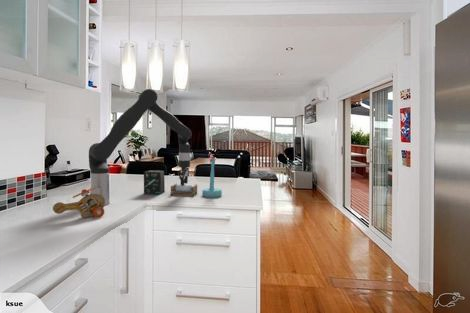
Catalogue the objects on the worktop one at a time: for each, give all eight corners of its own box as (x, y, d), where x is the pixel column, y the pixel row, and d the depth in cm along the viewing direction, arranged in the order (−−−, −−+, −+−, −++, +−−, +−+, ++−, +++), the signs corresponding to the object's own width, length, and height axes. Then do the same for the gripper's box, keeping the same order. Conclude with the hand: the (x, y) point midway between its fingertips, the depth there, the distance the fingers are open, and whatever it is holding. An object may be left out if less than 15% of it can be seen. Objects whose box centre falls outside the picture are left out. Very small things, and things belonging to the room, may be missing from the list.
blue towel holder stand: (225, 195, 184) (226, 157, 183) (211, 198, 175) (212, 158, 174) (212, 193, 193) (212, 156, 191) (198, 195, 184) (198, 156, 182)
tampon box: (164, 192, 194) (164, 170, 193) (159, 194, 184) (159, 172, 184) (149, 191, 195) (149, 170, 194) (143, 194, 186) (143, 171, 185)
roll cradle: (193, 196, 181) (193, 186, 181) (170, 195, 182) (170, 186, 182) (197, 193, 191) (197, 184, 191) (175, 192, 192) (175, 183, 192)
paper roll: (193, 192, 189) (193, 184, 189) (191, 193, 184) (191, 185, 183) (177, 191, 190) (177, 183, 189) (175, 192, 184) (175, 184, 184)
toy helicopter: (107, 216, 133) (106, 187, 132) (54, 224, 119) (53, 192, 119) (102, 212, 139) (102, 184, 138) (52, 219, 126) (51, 189, 125)
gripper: (181, 158, 193) (181, 182, 194) (175, 160, 178) (175, 186, 179) (192, 159, 192) (192, 183, 193) (187, 160, 178) (186, 186, 179)
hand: (184, 184), depth 186 cm, fingers open, 8 cm apart
